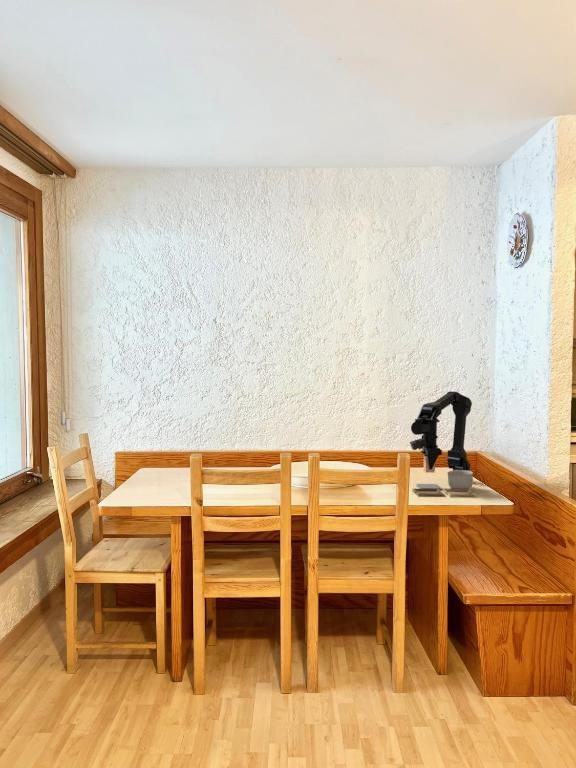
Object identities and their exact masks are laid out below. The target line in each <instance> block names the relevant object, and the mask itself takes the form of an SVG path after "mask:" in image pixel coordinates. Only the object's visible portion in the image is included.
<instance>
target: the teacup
mask: <svg viewBox="0 0 576 768" xmlns="http://www.w3.org/2000/svg"><path fill="white" fill-rule="evenodd" d="M473 475H474V472H473V471H470V470H468V471H466V470H454V471H453V470H450V471H448V472H447V482H448V486H449V488H450V489H469V490H470V489H471V488H472V487H473V484H474V476H473Z"/></svg>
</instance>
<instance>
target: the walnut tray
mask: <svg viewBox="0 0 576 768" xmlns="http://www.w3.org/2000/svg"><path fill="white" fill-rule="evenodd" d="M412 492H413V494H415V495H416V496H417V497H419V498H420V497H423V498H426V497H428V498H431V497H432V498H435V497H436V498H444V497H445V493H444V492H443V491H440V490H439V489H419V488H412Z"/></svg>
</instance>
